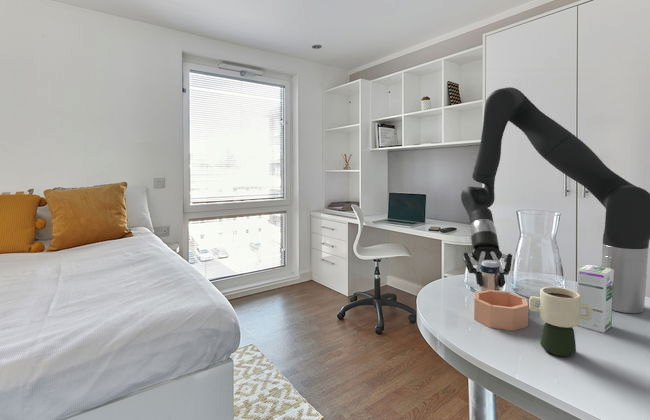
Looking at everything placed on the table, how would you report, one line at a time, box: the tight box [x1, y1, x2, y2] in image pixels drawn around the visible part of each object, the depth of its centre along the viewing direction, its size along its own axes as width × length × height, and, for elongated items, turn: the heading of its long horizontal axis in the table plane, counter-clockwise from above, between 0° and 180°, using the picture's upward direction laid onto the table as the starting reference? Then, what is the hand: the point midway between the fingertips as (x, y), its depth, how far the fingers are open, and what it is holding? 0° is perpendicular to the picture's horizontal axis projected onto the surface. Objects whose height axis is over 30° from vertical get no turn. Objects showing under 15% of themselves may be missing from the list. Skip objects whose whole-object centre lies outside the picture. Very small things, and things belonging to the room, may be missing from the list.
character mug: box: [528, 286, 593, 357], centre depth 71 cm, size 11×7×13 cm, turn 57°
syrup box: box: [576, 264, 614, 334], centre depth 82 cm, size 6×6×14 cm
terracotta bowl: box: [473, 290, 529, 331], centre depth 88 cm, size 12×12×6 cm
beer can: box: [480, 260, 500, 291], centre depth 99 cm, size 5×5×12 cm
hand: (491, 285), depth 97 cm, fingers closed on beer can, 4 cm apart
